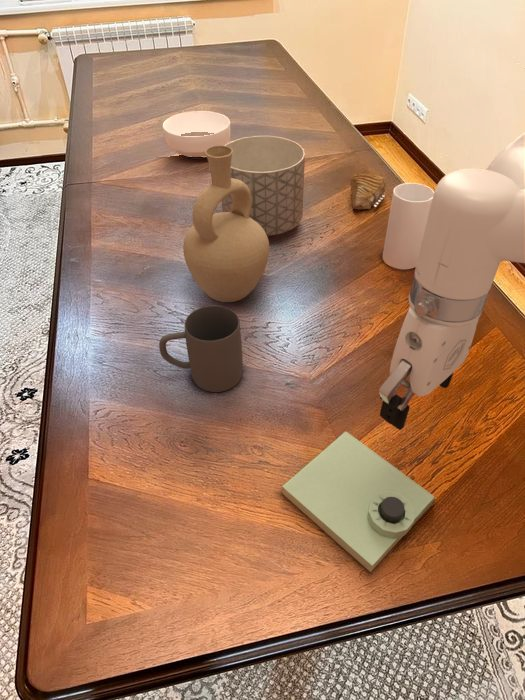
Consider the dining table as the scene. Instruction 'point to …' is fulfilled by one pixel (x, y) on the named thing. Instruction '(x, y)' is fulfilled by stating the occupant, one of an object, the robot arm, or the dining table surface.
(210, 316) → the mug
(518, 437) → the dining table surface
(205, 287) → the vase
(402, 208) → the cup
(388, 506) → the button
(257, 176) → the planter
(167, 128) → the bowl
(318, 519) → the scale
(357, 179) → the fossil
